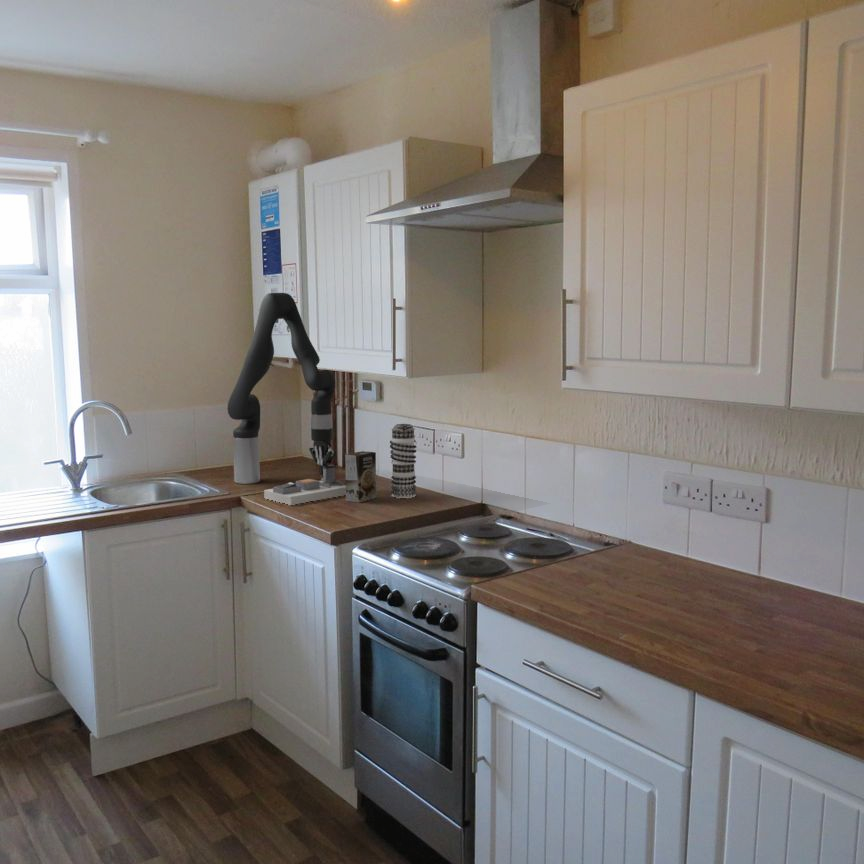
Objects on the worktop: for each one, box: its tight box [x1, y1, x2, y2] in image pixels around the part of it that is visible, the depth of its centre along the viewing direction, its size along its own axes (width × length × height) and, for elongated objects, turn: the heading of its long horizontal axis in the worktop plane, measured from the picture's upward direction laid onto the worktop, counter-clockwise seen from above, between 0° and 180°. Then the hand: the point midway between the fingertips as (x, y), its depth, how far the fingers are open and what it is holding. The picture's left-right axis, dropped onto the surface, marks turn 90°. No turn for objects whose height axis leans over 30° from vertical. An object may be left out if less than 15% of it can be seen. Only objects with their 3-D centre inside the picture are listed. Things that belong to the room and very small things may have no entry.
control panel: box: [263, 477, 346, 506], centre depth 295 cm, size 16×25×6 cm, turn 134°
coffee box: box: [344, 450, 377, 504], centre depth 289 cm, size 9×6×16 cm
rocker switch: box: [277, 482, 296, 489], centre depth 289 cm, size 4×5×1 cm
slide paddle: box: [322, 464, 337, 485], centre depth 300 cm, size 2×4×7 cm, turn 134°
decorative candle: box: [389, 423, 417, 499], centre depth 294 cm, size 9×9×25 cm
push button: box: [298, 478, 316, 483], centre depth 295 cm, size 4×4×2 cm
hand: (323, 475), depth 303 cm, fingers closed
